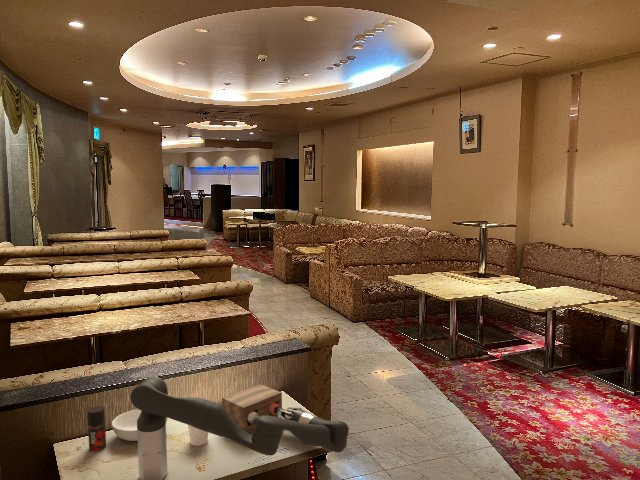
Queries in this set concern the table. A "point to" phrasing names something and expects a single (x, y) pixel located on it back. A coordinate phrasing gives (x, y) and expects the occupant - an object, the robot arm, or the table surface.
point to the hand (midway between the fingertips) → (275, 409)
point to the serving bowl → (127, 425)
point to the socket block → (251, 404)
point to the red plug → (272, 408)
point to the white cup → (197, 436)
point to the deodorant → (96, 428)
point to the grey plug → (252, 417)
